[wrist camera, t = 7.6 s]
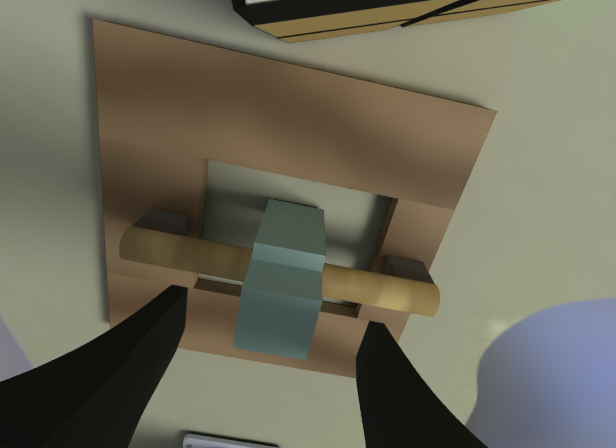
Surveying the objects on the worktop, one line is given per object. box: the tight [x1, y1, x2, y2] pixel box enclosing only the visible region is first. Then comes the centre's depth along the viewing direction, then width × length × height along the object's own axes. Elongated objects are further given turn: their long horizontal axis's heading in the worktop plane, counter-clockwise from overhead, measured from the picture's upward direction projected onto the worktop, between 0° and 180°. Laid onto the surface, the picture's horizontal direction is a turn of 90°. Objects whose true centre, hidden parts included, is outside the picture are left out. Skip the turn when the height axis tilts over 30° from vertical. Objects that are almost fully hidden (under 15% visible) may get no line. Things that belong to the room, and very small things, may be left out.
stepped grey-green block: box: [233, 199, 326, 360], centre depth 16 cm, size 5×3×7 cm, turn 169°
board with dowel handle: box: [92, 19, 497, 378], centre depth 18 cm, size 18×18×4 cm
